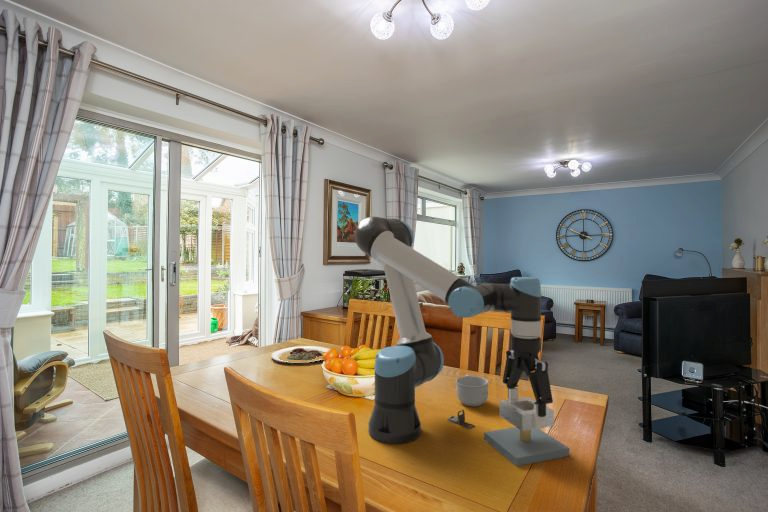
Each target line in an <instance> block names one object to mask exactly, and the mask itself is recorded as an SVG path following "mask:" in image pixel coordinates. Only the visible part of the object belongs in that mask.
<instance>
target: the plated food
mask: <svg viewBox="0 0 768 512" xmlns="http://www.w3.org/2000/svg"><path fill="white" fill-rule="evenodd" d="M330 349H331V348H328V347H323V346H316V345H315V346H314V345H313V346H312V345H305V346H304V345H301V346H291V347H286V348H282V349H279V350H276V351H274V352H272V354H271V359H273V360H274V361H277V362H280V363H281V362H282V363H286V362H287V364H293V363H303V364H308V363H307V362H288V361H283V360H280V359H279V357H280V356H281V355H282V354H284V353H287V352H290V351H292V352H290V354H291V355H289V356H286V358H287V359H288V360H302V361H303V360H305V361H306V360H312V359H315V358H316V356H317V357H319V356H323V355H322V353H320V352H319V351H322V352H327V351H328V350H330ZM306 350H311V351H306ZM317 350H318V351H317ZM320 360H321V361H324V360H323V359H319V360H315V361H317V362H321V361H320ZM315 361H309V362H312V363H316V362H315Z"/></svg>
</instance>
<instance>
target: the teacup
mask: <svg viewBox="0 0 768 512" xmlns="http://www.w3.org/2000/svg"><path fill="white" fill-rule="evenodd" d="M455 383H456V384H455V386H456V396H457V399H458V400H459V402H461V403H462V404H464V405H465V406H467V407H480V406H482V405H484V403H486V402H487V400H488V398H489V380H488V379H487V378H485V377H483V376H478V375H470V374H465V375H464V376H460V377H458V378H456V379H455Z"/></svg>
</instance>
